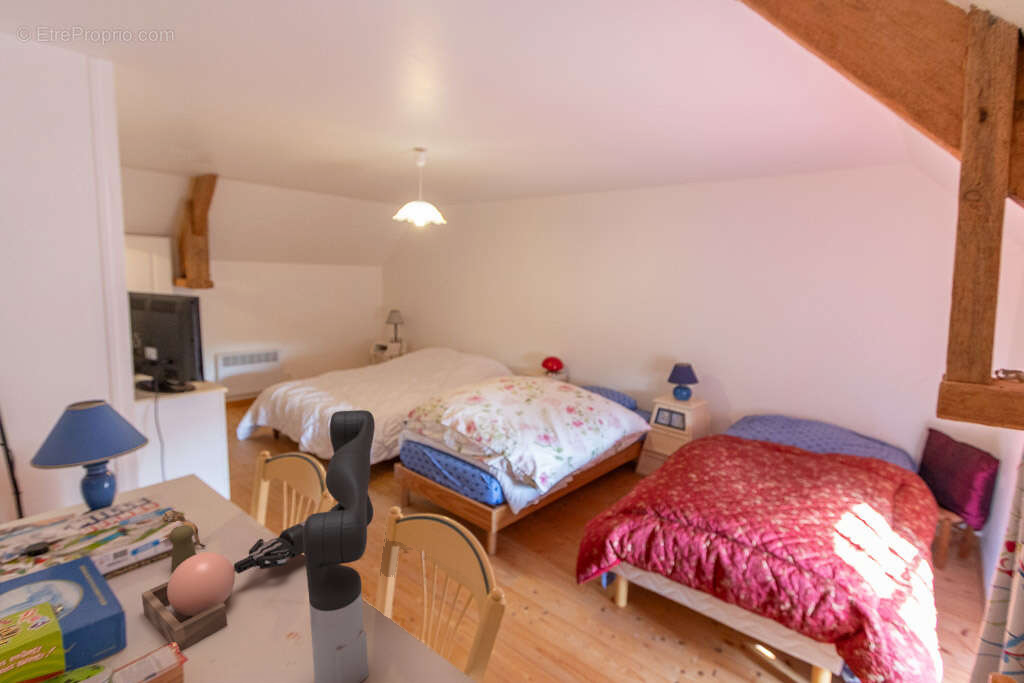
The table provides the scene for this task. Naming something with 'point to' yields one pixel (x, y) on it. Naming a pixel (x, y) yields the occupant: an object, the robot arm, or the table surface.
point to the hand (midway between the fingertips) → (235, 568)
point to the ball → (200, 583)
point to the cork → (181, 545)
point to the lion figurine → (175, 516)
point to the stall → (171, 627)
